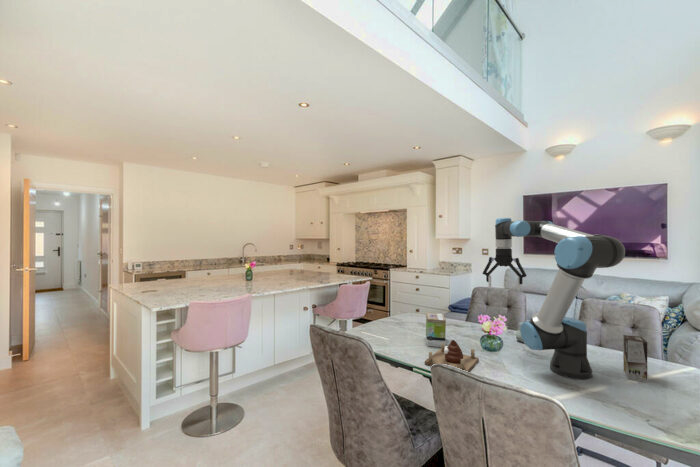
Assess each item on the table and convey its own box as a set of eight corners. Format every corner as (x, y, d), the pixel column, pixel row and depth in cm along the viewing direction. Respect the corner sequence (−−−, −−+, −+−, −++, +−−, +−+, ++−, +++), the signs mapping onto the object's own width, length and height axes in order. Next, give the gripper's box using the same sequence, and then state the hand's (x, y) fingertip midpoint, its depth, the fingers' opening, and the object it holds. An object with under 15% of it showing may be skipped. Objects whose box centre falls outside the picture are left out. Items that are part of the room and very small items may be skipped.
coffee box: (648, 382, 128) (647, 342, 128) (627, 379, 131) (626, 339, 131) (642, 374, 135) (642, 336, 136) (623, 371, 139) (622, 334, 139)
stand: (478, 360, 151) (478, 349, 151) (466, 374, 136) (466, 361, 136) (439, 352, 162) (439, 341, 162) (424, 364, 147) (424, 352, 147)
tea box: (446, 347, 169) (446, 319, 169) (426, 346, 171) (426, 318, 171) (443, 338, 184) (443, 313, 184) (425, 337, 186) (425, 312, 186)
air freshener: (533, 345, 172) (532, 326, 172) (515, 342, 176) (515, 324, 176) (533, 339, 181) (533, 322, 181) (517, 337, 185) (517, 320, 186)
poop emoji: (463, 364, 143) (462, 343, 143) (443, 362, 146) (443, 341, 146) (463, 356, 152) (463, 337, 152) (444, 354, 155) (444, 335, 155)
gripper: (532, 248, 159) (532, 290, 159) (480, 247, 174) (480, 286, 174) (530, 248, 153) (530, 293, 153) (476, 247, 168) (476, 288, 168)
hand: (504, 289), depth 163 cm, fingers open, 13 cm apart
